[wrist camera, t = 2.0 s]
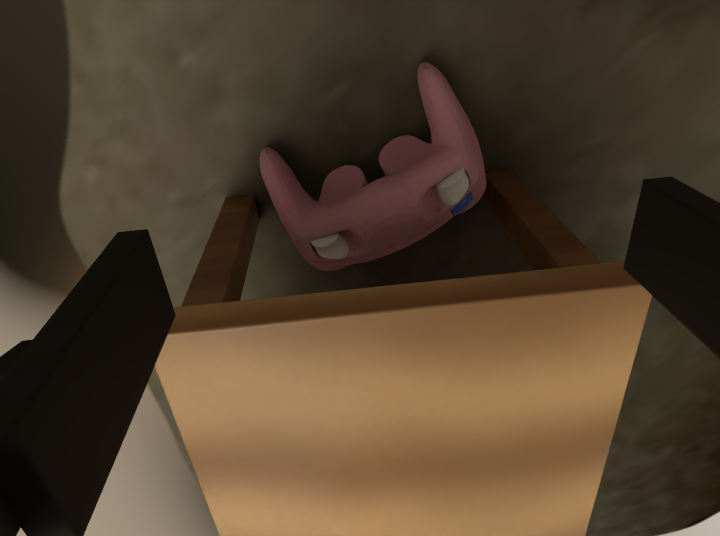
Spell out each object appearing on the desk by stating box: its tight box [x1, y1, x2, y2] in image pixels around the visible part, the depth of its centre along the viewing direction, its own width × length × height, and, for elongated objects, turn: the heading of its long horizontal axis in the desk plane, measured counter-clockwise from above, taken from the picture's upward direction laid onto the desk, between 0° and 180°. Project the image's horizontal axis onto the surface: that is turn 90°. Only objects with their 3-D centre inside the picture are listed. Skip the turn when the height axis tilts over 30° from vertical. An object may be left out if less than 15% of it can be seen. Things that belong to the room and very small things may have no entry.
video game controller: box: [259, 62, 486, 271], centre depth 23 cm, size 10×5×7 cm, turn 117°
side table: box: [155, 170, 652, 536], centre depth 24 cm, size 14×16×12 cm
